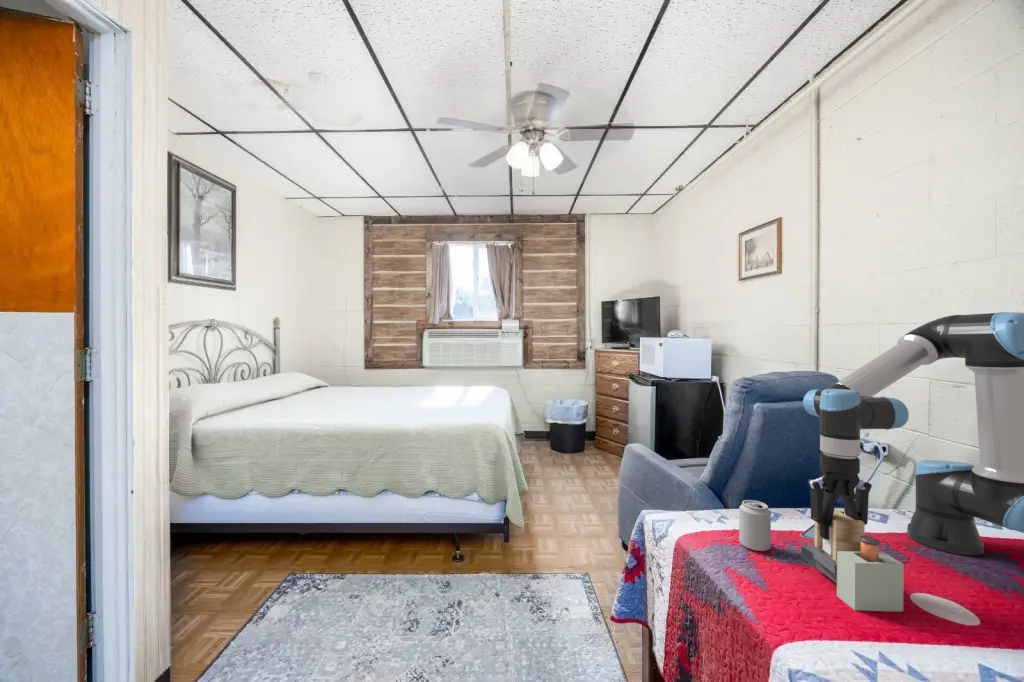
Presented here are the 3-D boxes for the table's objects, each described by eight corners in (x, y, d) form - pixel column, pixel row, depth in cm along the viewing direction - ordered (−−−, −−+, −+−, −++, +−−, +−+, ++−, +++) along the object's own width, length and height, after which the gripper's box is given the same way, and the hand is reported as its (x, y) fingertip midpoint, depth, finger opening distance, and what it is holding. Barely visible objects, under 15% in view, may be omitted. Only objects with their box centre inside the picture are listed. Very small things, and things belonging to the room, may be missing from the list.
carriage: (841, 568, 102) (842, 509, 102) (865, 585, 95) (865, 522, 95) (812, 567, 103) (813, 509, 103) (834, 584, 96) (834, 521, 96)
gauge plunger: (870, 553, 92) (871, 535, 92) (884, 561, 88) (884, 543, 88) (855, 553, 92) (855, 535, 92) (868, 561, 89) (868, 542, 89)
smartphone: (799, 535, 122) (816, 521, 131) (799, 537, 122) (816, 524, 131) (829, 544, 116) (846, 529, 125) (829, 547, 116) (846, 532, 125)
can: (775, 555, 111) (775, 510, 111) (744, 552, 112) (744, 507, 112) (764, 541, 118) (764, 499, 118) (735, 539, 119) (735, 497, 119)
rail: (813, 557, 110) (813, 545, 110) (866, 596, 93) (866, 583, 93) (801, 556, 110) (801, 545, 110) (852, 596, 93) (852, 582, 93)
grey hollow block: (882, 597, 93) (882, 552, 93) (903, 611, 88) (903, 564, 88) (836, 595, 93) (837, 551, 93) (854, 610, 88) (855, 563, 88)
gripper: (863, 450, 102) (862, 545, 102) (792, 449, 103) (791, 544, 103) (890, 459, 95) (889, 561, 95) (813, 458, 96) (812, 559, 96)
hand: (838, 552), depth 99 cm, fingers closed on carriage, 4 cm apart
